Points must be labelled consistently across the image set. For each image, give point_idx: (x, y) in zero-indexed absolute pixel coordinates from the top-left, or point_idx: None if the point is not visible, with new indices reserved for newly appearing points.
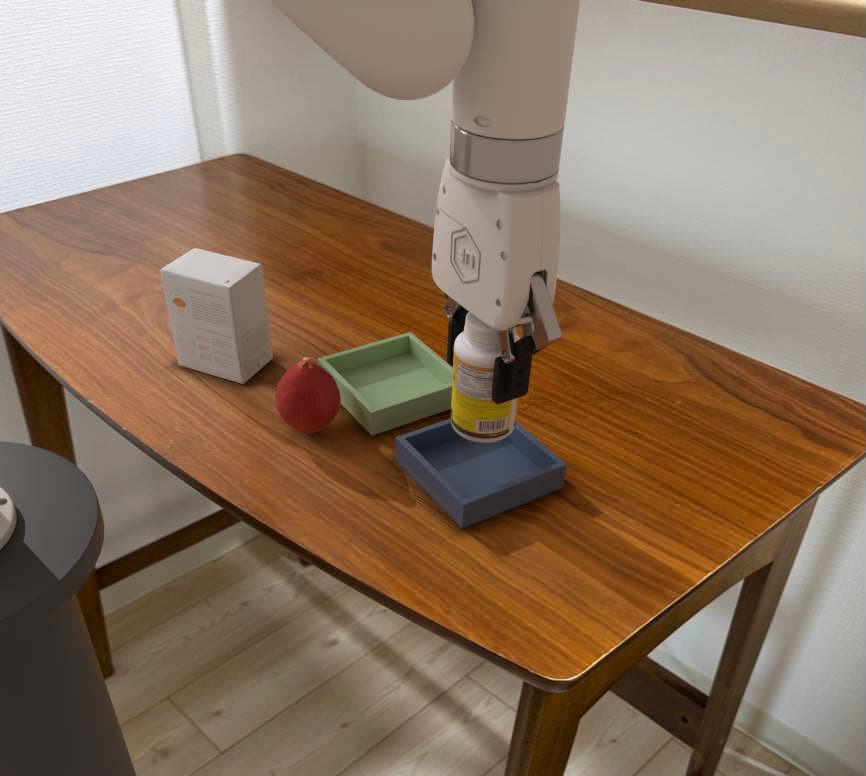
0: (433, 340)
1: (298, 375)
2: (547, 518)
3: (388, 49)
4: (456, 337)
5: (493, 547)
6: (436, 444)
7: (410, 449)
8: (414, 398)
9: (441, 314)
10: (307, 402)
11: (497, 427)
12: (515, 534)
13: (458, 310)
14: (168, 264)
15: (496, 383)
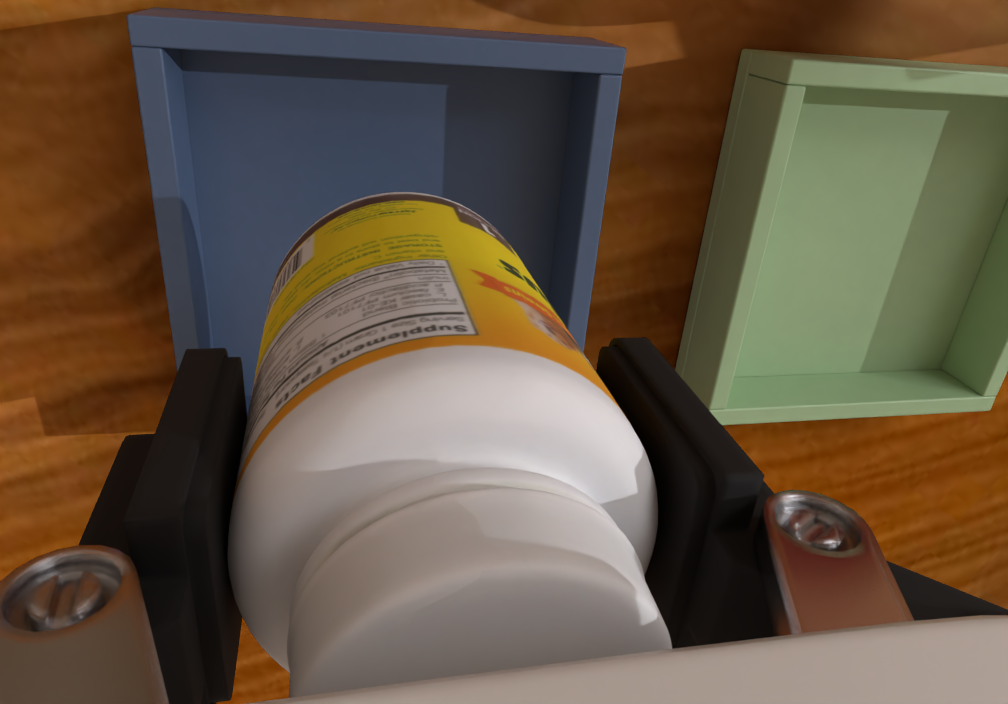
0: (928, 452)
1: None
2: (88, 289)
3: None
4: (662, 445)
5: (11, 45)
6: (560, 193)
7: (534, 50)
8: (750, 239)
9: (983, 519)
10: None
11: (265, 320)
12: (51, 155)
13: (765, 576)
14: None
15: (168, 412)
